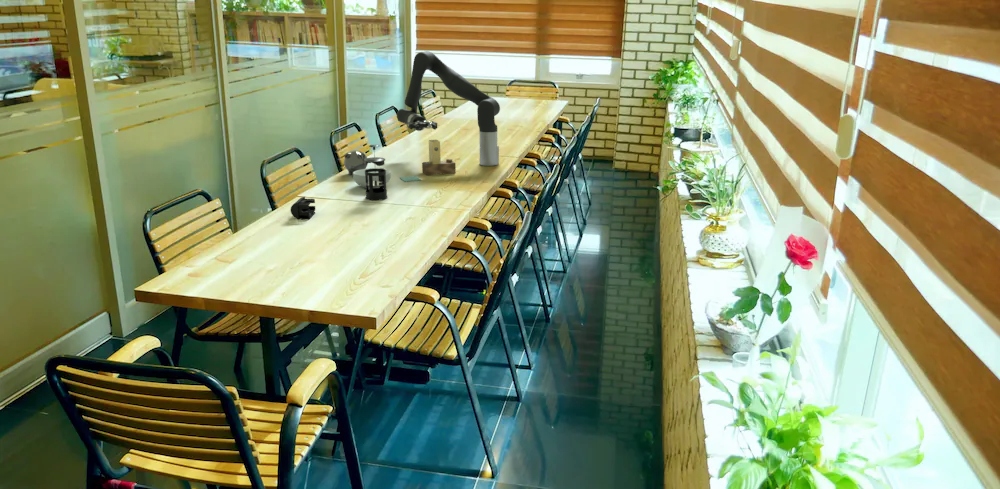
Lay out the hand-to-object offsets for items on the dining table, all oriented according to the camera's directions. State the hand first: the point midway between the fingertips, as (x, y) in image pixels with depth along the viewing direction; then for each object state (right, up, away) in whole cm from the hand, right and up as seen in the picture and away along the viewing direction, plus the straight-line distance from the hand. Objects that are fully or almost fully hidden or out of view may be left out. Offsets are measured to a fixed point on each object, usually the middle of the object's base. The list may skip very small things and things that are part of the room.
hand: (427, 127), depth 376 cm
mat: (-7, -27, -15) cm, 31 cm away
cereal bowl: (-22, -31, -29) cm, 48 cm away
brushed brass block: (+4, -18, -4) cm, 19 cm away
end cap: (-42, -47, -75) cm, 98 cm away
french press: (-17, -38, -47) cm, 63 cm away
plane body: (+6, -22, -2) cm, 23 cm away
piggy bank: (-34, -24, -5) cm, 42 cm away
